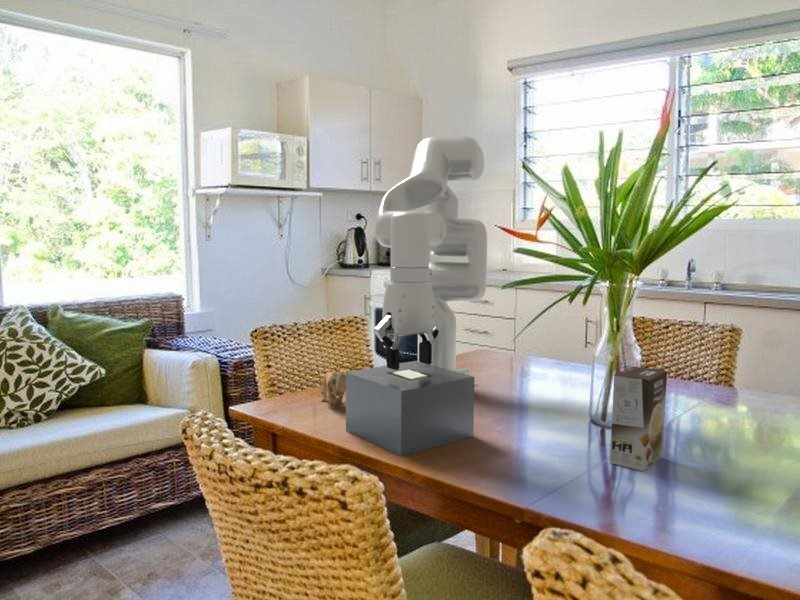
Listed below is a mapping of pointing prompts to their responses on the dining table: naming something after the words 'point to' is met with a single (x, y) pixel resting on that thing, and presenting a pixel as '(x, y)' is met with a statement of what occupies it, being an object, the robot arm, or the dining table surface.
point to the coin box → (409, 407)
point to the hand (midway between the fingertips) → (409, 365)
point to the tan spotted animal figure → (334, 386)
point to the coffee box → (638, 417)
